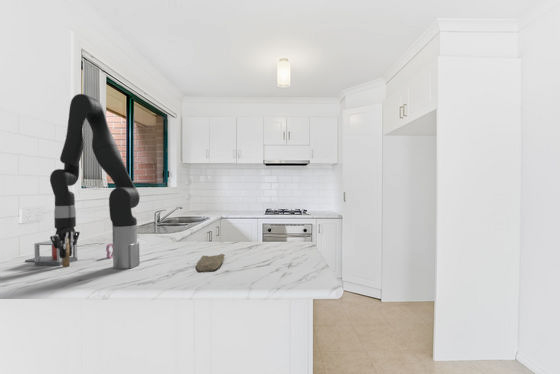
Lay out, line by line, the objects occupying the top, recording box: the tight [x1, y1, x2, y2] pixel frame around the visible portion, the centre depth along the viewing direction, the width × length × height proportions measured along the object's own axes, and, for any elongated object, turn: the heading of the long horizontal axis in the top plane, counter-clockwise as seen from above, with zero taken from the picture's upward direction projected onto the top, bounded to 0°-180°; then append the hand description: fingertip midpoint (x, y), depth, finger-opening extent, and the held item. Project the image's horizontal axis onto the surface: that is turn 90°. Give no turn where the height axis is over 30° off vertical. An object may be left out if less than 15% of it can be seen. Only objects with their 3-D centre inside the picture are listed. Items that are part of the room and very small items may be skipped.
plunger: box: [51, 245, 57, 260], centre depth 143 cm, size 3×3×6 cm
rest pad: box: [24, 255, 52, 263], centre depth 149 cm, size 8×8×1 cm
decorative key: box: [105, 243, 113, 259], centre depth 159 cm, size 7×1×20 cm
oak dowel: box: [62, 238, 71, 268], centre depth 136 cm, size 2×2×12 cm
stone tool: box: [195, 253, 225, 273], centre depth 136 cm, size 11×3×25 cm
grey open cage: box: [34, 239, 78, 267], centre depth 143 cm, size 12×10×9 cm
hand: (66, 256), depth 136 cm, fingers closed on oak dowel, 2 cm apart
